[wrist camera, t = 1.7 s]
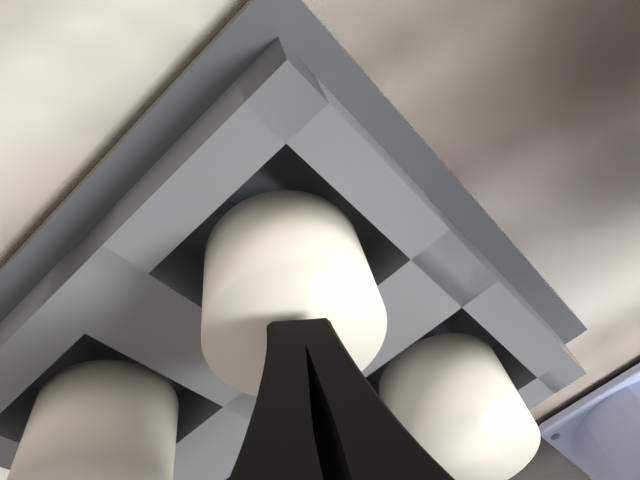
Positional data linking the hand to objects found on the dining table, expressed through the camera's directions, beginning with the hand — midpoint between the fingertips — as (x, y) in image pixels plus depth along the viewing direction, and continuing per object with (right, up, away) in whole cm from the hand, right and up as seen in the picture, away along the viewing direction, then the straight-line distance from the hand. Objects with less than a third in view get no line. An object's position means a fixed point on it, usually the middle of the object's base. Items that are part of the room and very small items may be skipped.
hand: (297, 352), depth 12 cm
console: (-1, -1, +8) cm, 8 cm away
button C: (-1, +2, +3) cm, 4 cm away
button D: (-6, -3, +5) cm, 9 cm away
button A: (+5, -2, +7) cm, 9 cm away
